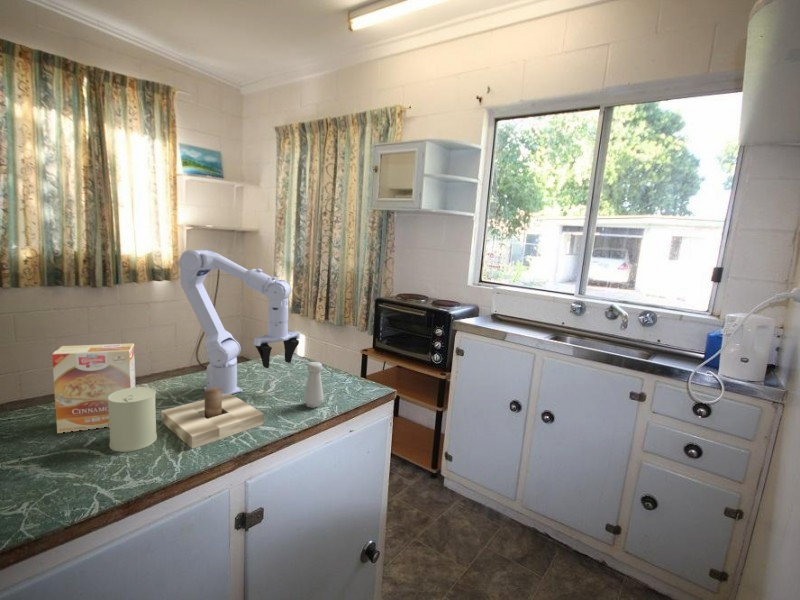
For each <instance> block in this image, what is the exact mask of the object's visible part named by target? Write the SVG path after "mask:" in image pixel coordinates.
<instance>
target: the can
mask: <svg viewBox="0 0 800 600" xmlns="http://www.w3.org/2000/svg"><path fill="white" fill-rule="evenodd" d="M156 393H157V391H156V390H155V389H154V388H152V387H147V386H135V387H132V388H126V389H122V390H119V391H116V392H113V393H112V394H110V395H109V396H108V398H107V399H108V408H109V427H108V428H109V444H108V445H109V448H110V449H111V450H112V451H114V452H118V451H119V452H121V453H122V452H123V453H126V452H134V451H139V450H142V449H144V448H147V447H148V446H149V447H150V446H151V445H152V444H154V443H155V442H156V441H157V439H158V434H157V422H156V421H157V420H156V418H157V414H156Z"/></svg>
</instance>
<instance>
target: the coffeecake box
mask: <svg viewBox="0 0 800 600" xmlns="http://www.w3.org/2000/svg"><path fill="white" fill-rule="evenodd" d="M135 365H136V364H135V343H133V342H132V343H131V342H129V343H111V344H110V343H107V344H87V345H85V344H82V345H80V344H79V345H61V346H60V347H59V348H58V349H57V350H55V351H54V352H52V373H53V388H54V389H53V390H54V404H55V420H56V422H55V423H56V431H57V432H56V433H57V434H63V432H65V433H72V432H71V431H73V432H80V431H79V430H82V431H88V429H90V430H97V429H96V428H99V429H105V428H104V427H107V428H110V427H109V408H108V399H107V398H108V396H109V395H110V394H112V393H113V392H116V391H119V390H122V389H126V388H132V387H136V366H135Z"/></svg>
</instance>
